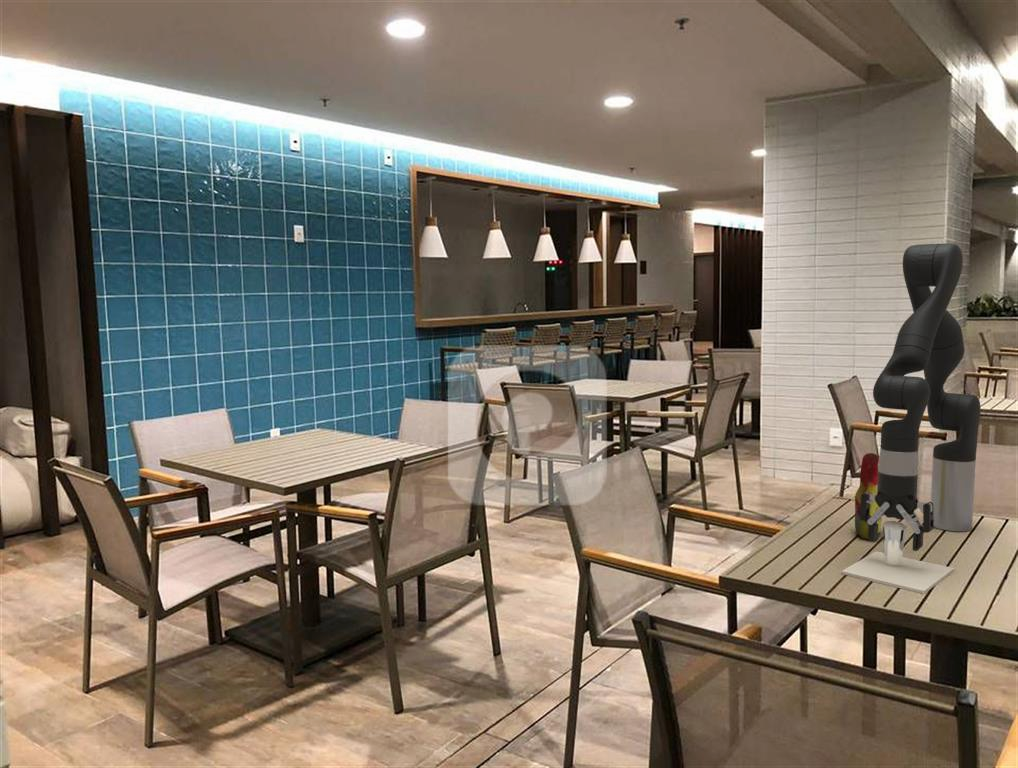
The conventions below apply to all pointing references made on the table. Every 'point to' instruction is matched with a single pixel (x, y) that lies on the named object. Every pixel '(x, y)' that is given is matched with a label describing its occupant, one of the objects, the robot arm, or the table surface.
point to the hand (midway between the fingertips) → (894, 545)
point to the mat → (899, 572)
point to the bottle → (867, 485)
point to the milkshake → (894, 542)
